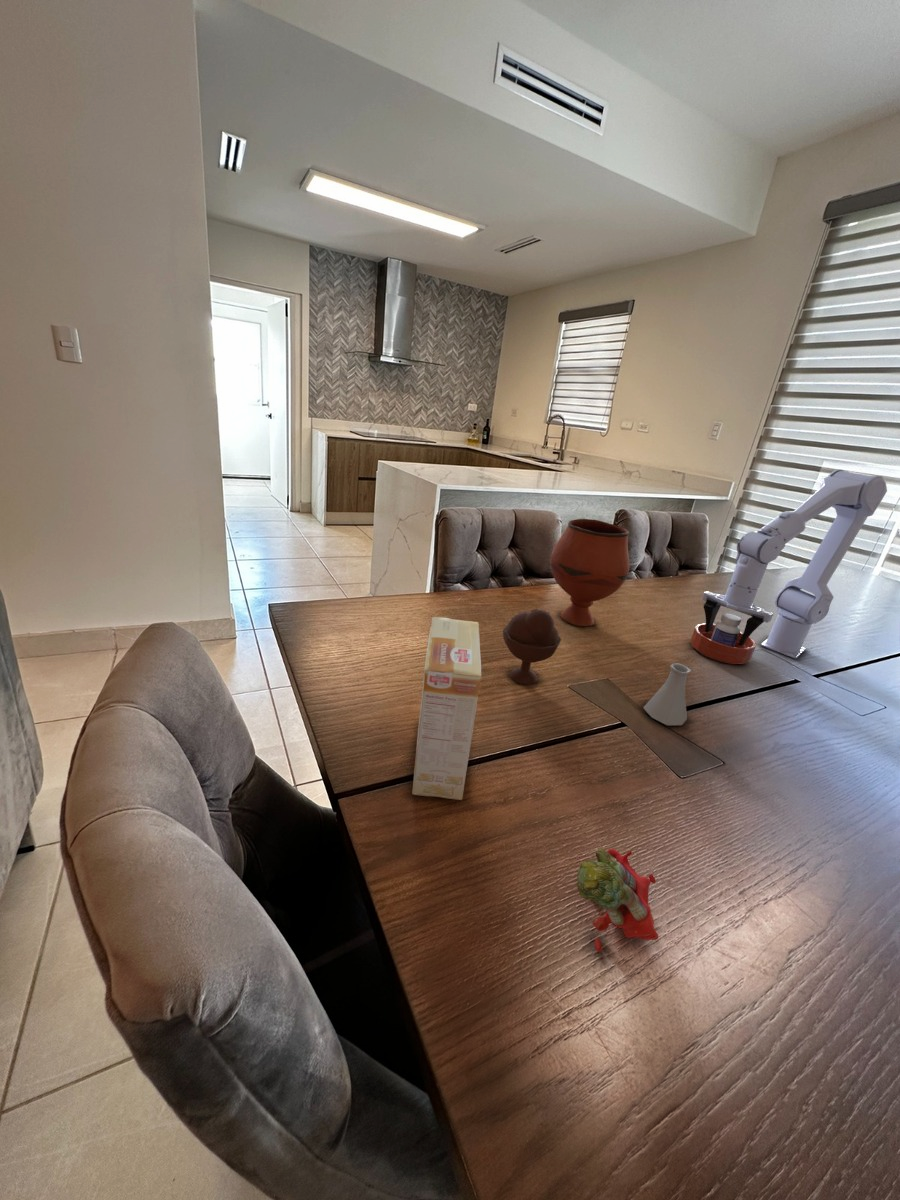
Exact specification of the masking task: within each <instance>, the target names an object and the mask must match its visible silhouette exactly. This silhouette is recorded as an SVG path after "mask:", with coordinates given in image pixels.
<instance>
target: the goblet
mask: <svg viewBox="0 0 900 1200" xmlns="http://www.w3.org/2000/svg"><path fill="white" fill-rule="evenodd" d="M629 535H630V531H629V530H628V529H626V528H625V527H622V526H618V525H616V524H613V523H609V522H605V521H602V520H598V519H591V518H589V519H588V518H577V519H571V520H569V521H568V523H567V527H566V528H565V530H564V531H563V533H561V535H560V537H559V538H558V540H557V542H556V544H555V546H554V547H553V550H552V552H551V555H550V562H549V563H550V570H551V574H552V576H553V578H554V581H555V582H556V584H557V585H558V586H559V587H560V588H561V589H562V590H563V592H565V593H566V594H567V595H569V596H570V598H569V599H570V602H571V604H570V605H569V606H567V607H565V608H564V609H563V610H562V612H560V618H561V620H563V621H564V622H567V623H569V624H572V625H574V626H579V627H588V626H593V625H594V623H595V619H594V616H593V614H592V612H591V611H590V607H591V606H593V605H594V602H597V601H600V600H602V599H605V598H607V597H609V596H611V595H613V594H614V593H616V592H617V591H618V590H620V588H621V587H622V586H623V584H624V583H625V582H626V580H627V579H628V576H629V573H630V555H629V546H628V545H629V544H628V543H629Z"/></svg>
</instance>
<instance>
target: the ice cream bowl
mask: <svg viewBox="0 0 900 1200" xmlns="http://www.w3.org/2000/svg"><path fill="white" fill-rule="evenodd" d="M502 638H503V641H504V644H505V645H506V647H507V649H508V651H509V652H510V653H511V654H512V656H514V657H515V658H516V659H518V660H521V665H520V667H515V668H513V669H512V670H511V671H510V673H509V676H510V678H511V680H512V681H515V683H518V684H520V685H527V686H528V685H533V684H536V683H537V681H538V676H537V674H536V672H534V670H531V665H532V663H533V664H534V663H537V662H542V661H545V660H547V659H550V658H551V657H552V656H553V655H554V654H555V653H556V651H557V649H558V647H559V646H560V643H561V641H562V637H560V635H559V631H558V630H557V628H556V627H555V621H554V618H553V616H552V614H551V613H550V612H549V611H546V610H544V609H539V608H535V609H532V610H530V611H523V612H518V613H517V614H515V615H513V617H511V620H510V621H509V622H508V623H507V625H506V626H505V627H504V629H502Z"/></svg>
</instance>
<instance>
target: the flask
mask: <svg viewBox="0 0 900 1200" xmlns="http://www.w3.org/2000/svg"><path fill="white" fill-rule="evenodd" d="M669 669H670V672H669V674H668V677H667V678H666V679H665V681H664V683H663V684H662V686H661V687H660V688H659V689H658V690H657V691H656V692H655V694H654V695H653V696H652V697H651V698H650V699H649V700H648V701H647V703H646V704H645V705H644V706H642V707H643V710H644V711H645V712H646V713H647V714H648V715H649V716H650V718H652V719H653V720H656V721H657V722H660V723H661V724H663V725H665V726H682V725H684V724H685V722H686V721H688V713H687V704H686V690H685V689H686V681H687V677H688V675H689V674H690V673H691V672H692V670H691V669H690V668H689V667H688V666H686V665H684V664H681V663H672V664H671V665H669Z"/></svg>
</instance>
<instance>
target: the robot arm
mask: <svg viewBox="0 0 900 1200" xmlns="http://www.w3.org/2000/svg"><path fill="white" fill-rule="evenodd" d="M887 493H888V487H887V480H886V479H885V477H884V476H882V475H872V474H866V473H859V472H854V471H846V470H844V469H835V470H832V471H831V472H830V473H829V474H828V475H827V476H825V477H824V478H823V479H822V481H821V483H820V486H819V489H818V490H816V491H815V492H814V493H813V494H812V495H811V496H810V497H809V498H807V499H806V500H805V501H804V502H802V503H801V504H800V505H799V506H798V507H797V508H796V509H794V510H793V511H791V510H786V511H782V512H781V513H780V514H778V516H776V517H774V519H772V520H771V521H769V522H768V523H766V524H765V525H764V526H763V527H761V528H759V529H758V530H757V531H756V530H754V531H749V532H747V533H745V534H744V535H742V537H741V538H740V540H739V541H737V543H736V552H737V553H736V554H737V555H736V557H735V560H736V564H735V568H734V570H733V573H732V576H731V577H730V581H729V585H728V587H727V590H726V592H725V595H724V594H719V593H715V592H711V591H708V590H707V591H704V592H703V594H702V596H701V600H702V601H705V603H703V611H704V615H705V623H706V627H705V632H707V633H708V632H710V631H711V629H712V627H713V624H715V620H716V617H717V615H718V613H719V610H720V609H721V607H724V608H727V609H730V610H733V611H735V612H738V613H740V614H744V615H747V616H750V617H749V618H747V620H746V624H745V627H744V629H743V632H742V633H743V635H742V637H741V639H740V641H739V644H738V645H740V646H742V645H744V644H745V642H746V640H747V639H748V637H751V635H752V634H753V633H754V631H756V630H757V628H759V627H760V626H761V625H762V624H763V623H764V622H765V623H766V624H767V623H768V624H769V623H770V622H771V620H772V617H773V616H774V613H773V612H771V611H768V610H766V609H764V608H761V607H758V606H757V605H754V601H755V599H756V596H757V594H758V591H759V588H760V586H761V583H762V581H763V578H764V576H765V573H766V570H767V568H768V565H769V563H772V562H773V561H775V560H776V559H777V558H778V557H779V556H780V554H781V552H782V551H783V550H785V547H786V544H788V543H789V542H790V541H792V540H793V539H795V538H796V537H797V536H799V535H800V534H801V533H803V532H804V531H805V530H806V524H807V523H808V522H809V521H811V520H812V519H814V518H816V517H817V516H819V515H821V514H822V513H824V512H825V511H827V510H829V509H830V508H833V509H834V510H835V513H836V517H835V518H834V520H833V522H832V524H831V525H830V527H829V529H828V531H827V532H826V534H825V535H824V537H823V539H822V541H821V542H820V544H819V546H818V547H817V549H816V551H815V553H814V554H813V556H812V558H811V559H810V562H809V563H808V565H807V567H806V568H805V570H804V571H803V573H802V575H801V576H799V577H796V578H792V579H789V580H787V581H786V584H785V585H784V586H783V588H782V589H780V590H779V591H778V593H777V594H776V595H775V598H774V599H775V601H774V604H775V606H776V610H775V611H776V612H777V613H778V614H777V616H776V619H775V621H774V623H773V626H772V627H771V629H770V633H769V634H768V637H767V638H766V639H765V640H764V641H762V642H761V643H760V646H761V647H764V648H766V649H769V650H772V651H774V652H776V653H779V654H781V655H785V656H787V657H789V658H792V659H798V658H799V657H800V656H801V655H802V653H803V652H805V651H806V647H805V646H803V645H804V643H805V641H806V638H807V636H808V634H809V633H810V630H811V628H812V626H813V624H817V623H819V622H821V621H822V620H824V619H825V618H826V616H827V615H828V614H829V611H830V606H831V604H832V601H833V600H834V595H833V593H832V592H831V590H830V589H829V587H828V584H829V582H830V580H831V578H832V577H833V575H834V574H835V572H836V570H837V568H838V567H839V565H840V563H841V562H842V560H843V559H844V557H845V555H846V554H847V552H848V550H849V549H850V547H851V545H852V544H853V542H854V540H855V539H856V537H857V536H858V534H859V532H860V530H862V527H863V525H864V524H865V522H866V521H867V519H868V517H872V516H873V515H874V514H875V512H876V510H878V507H879V506H880V504H881V502H882V500H883V499H884V497H885V496H886V495H887Z"/></svg>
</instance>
